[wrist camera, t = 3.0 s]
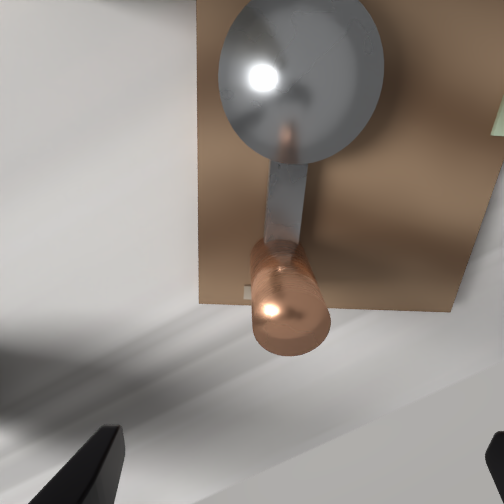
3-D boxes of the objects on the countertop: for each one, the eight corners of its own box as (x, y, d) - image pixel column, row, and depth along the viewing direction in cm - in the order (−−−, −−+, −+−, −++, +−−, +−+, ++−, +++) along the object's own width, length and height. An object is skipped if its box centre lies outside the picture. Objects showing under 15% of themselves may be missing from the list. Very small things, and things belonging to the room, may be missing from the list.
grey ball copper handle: (222, -14, 13) (208, -86, 8) (382, -2, 13) (470, -64, 8) (217, 281, 18) (207, 353, 13) (332, 285, 18) (366, 358, 13)
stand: (439, 300, 20) (474, 337, 17) (201, 292, 20) (193, 328, 17) (612, -225, 12) (744, -340, 9) (198, -270, 11) (180, -411, 8)
